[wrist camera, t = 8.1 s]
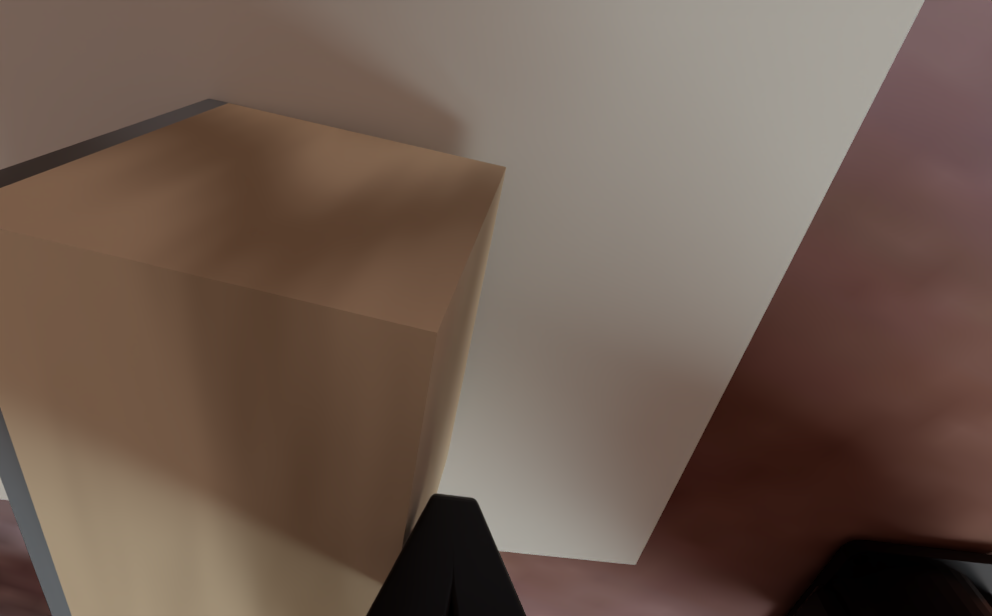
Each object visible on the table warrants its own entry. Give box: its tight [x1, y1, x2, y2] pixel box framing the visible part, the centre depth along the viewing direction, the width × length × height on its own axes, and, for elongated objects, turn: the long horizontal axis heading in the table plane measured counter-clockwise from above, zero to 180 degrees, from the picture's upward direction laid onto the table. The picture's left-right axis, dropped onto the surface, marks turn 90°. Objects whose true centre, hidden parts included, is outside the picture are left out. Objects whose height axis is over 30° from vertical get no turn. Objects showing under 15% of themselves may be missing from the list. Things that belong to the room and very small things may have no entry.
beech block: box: [0, 99, 506, 616], centre depth 11 cm, size 6×8×6 cm
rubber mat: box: [0, 0, 925, 565], centre depth 14 cm, size 23×18×1 cm
